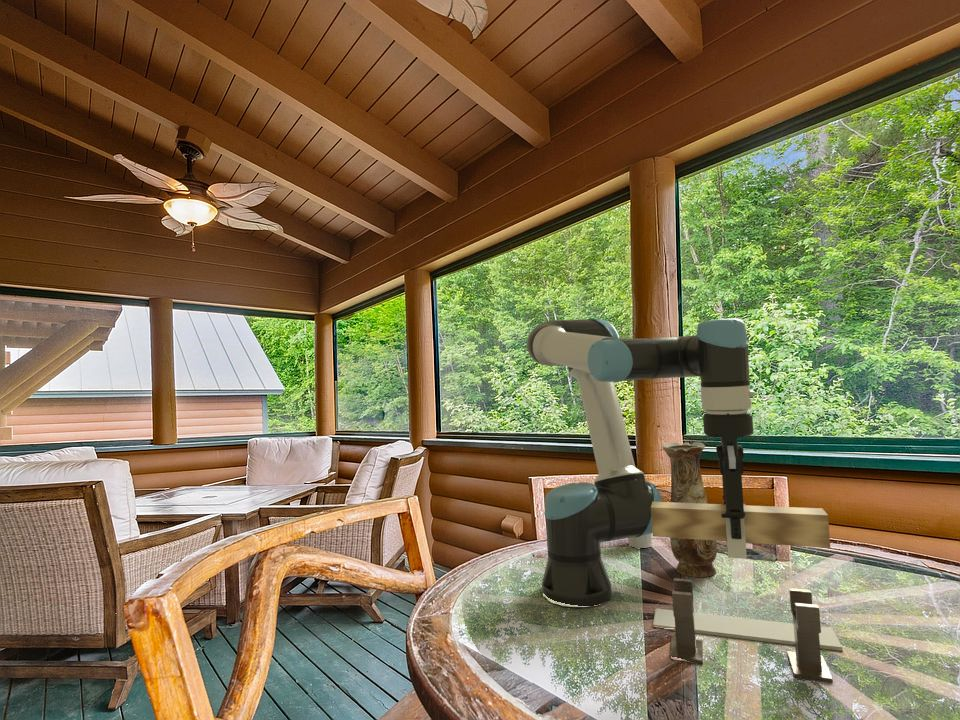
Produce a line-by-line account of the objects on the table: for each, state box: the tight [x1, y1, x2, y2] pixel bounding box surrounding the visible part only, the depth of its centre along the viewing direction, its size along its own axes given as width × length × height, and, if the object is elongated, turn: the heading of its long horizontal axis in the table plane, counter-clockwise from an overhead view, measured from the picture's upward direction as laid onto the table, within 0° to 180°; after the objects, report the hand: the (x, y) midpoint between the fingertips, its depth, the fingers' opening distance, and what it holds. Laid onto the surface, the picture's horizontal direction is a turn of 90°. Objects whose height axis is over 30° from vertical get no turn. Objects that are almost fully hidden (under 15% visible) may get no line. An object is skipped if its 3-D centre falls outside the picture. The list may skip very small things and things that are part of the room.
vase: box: [661, 441, 718, 578], centre depth 125 cm, size 10×11×30 cm
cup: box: [627, 533, 653, 549], centre depth 145 cm, size 8×8×12 cm
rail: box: [651, 501, 831, 549], centre depth 87 cm, size 26×4×5 cm, turn 67°
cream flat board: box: [652, 608, 843, 652], centre depth 96 cm, size 30×7×1 cm, turn 67°
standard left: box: [669, 577, 704, 665], centre depth 90 cm, size 5×7×11 cm
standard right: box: [786, 587, 834, 684], centre depth 83 cm, size 5×7×11 cm
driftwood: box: [717, 542, 778, 563], centre depth 136 cm, size 21×7×2 cm, turn 36°
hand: (736, 552), depth 87 cm, fingers closed on rail, 4 cm apart
